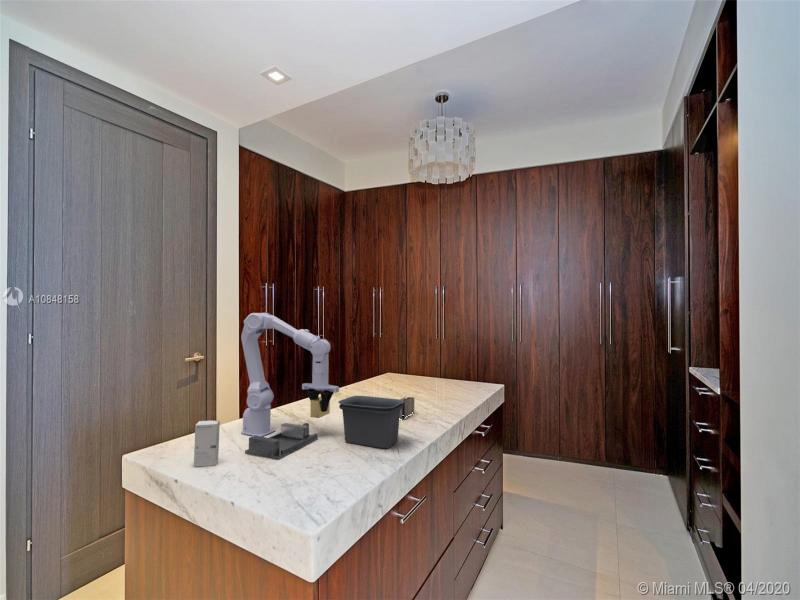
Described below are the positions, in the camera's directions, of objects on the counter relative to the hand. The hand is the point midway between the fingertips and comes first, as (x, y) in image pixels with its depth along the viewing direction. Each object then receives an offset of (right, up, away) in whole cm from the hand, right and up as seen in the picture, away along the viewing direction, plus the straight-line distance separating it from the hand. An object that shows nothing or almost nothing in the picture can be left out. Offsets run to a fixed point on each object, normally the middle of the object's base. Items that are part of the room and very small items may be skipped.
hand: (319, 410), depth 146 cm
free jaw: (-7, -8, -4) cm, 11 cm away
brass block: (0, -2, 0) cm, 2 cm away
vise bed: (-10, -9, -12) cm, 18 cm away
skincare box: (-28, -8, -27) cm, 40 cm away
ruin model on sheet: (+31, -10, +25) cm, 42 cm away
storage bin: (+19, -9, -7) cm, 22 cm away
